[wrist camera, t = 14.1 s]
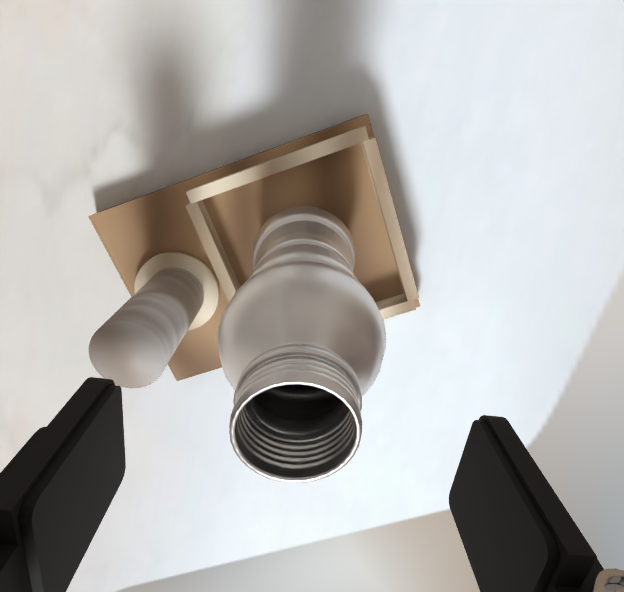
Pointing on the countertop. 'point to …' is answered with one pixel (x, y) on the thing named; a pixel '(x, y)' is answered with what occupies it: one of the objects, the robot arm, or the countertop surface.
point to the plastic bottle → (300, 349)
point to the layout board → (238, 248)
